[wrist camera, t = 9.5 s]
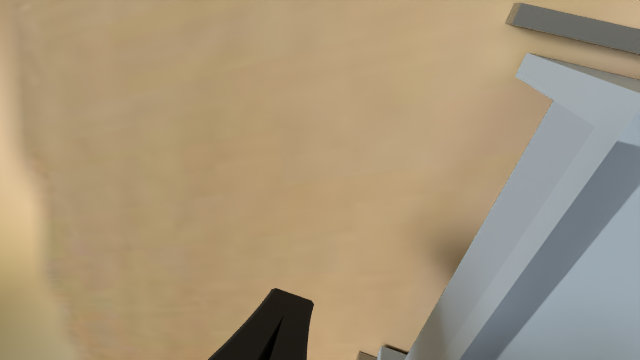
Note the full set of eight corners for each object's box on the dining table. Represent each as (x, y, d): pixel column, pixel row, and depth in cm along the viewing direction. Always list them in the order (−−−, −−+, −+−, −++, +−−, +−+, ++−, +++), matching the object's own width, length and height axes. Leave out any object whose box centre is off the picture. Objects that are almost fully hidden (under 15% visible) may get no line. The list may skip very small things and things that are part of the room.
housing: (547, 415, 19) (607, 593, 13) (377, 353, 20) (363, 491, 14) (863, 133, 10) (1475, 300, 4) (526, 52, 11) (648, 96, 5)
